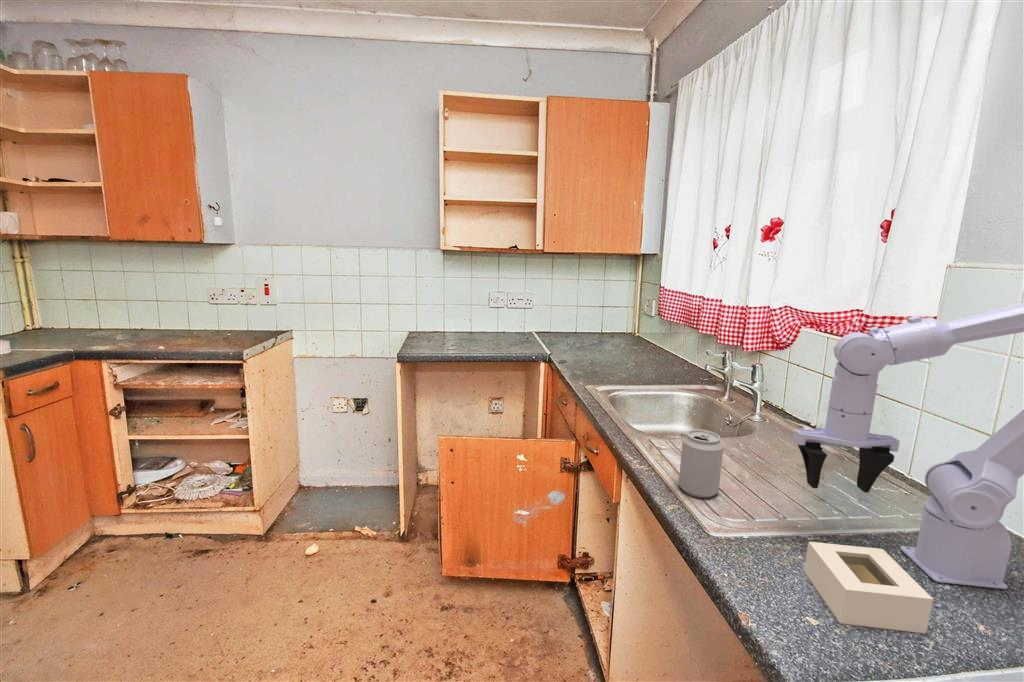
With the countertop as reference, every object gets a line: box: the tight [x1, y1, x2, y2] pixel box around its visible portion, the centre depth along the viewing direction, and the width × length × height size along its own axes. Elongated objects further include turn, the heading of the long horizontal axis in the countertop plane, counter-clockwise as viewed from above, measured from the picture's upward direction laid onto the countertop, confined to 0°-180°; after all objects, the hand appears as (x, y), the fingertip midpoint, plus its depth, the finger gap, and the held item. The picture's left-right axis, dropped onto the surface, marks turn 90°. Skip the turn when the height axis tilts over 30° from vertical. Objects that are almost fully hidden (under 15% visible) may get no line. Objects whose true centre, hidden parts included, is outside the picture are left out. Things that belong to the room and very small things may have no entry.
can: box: [678, 428, 725, 499], centre depth 92 cm, size 8×8×12 cm
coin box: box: [803, 541, 934, 634], centre depth 64 cm, size 10×10×5 cm
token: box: [846, 564, 882, 585], centre depth 64 cm, size 2×4×4 cm, turn 174°
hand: (837, 487), depth 76 cm, fingers open, 7 cm apart
